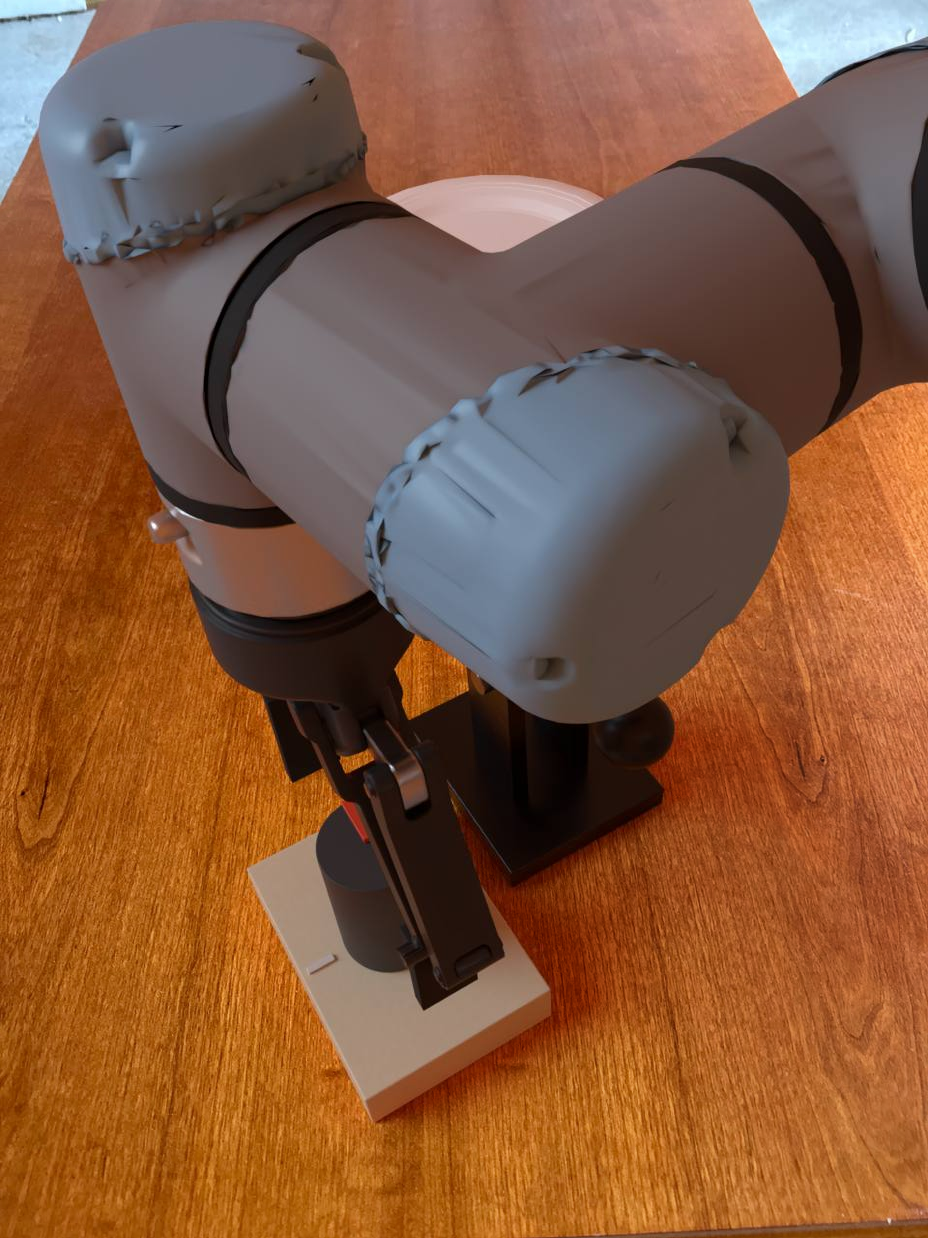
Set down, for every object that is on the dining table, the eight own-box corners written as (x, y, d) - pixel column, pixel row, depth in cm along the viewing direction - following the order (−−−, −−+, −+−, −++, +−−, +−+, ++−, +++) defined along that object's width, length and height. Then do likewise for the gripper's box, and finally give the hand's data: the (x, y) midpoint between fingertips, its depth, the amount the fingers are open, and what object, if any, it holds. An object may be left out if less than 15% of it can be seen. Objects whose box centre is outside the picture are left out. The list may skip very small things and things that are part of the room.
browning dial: (459, 940, 56) (446, 853, 50) (369, 991, 55) (344, 908, 49) (411, 864, 59) (393, 773, 53) (325, 911, 58) (296, 823, 52)
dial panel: (552, 1015, 57) (551, 988, 54) (373, 1124, 54) (364, 1100, 51) (418, 811, 65) (412, 780, 63) (257, 896, 62) (245, 866, 60)
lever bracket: (663, 803, 64) (678, 670, 56) (512, 888, 61) (503, 762, 53) (547, 666, 72) (544, 529, 63) (407, 736, 69) (384, 603, 60)
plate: (585, 169, 114) (585, 151, 113) (694, 327, 95) (696, 307, 93) (298, 223, 111) (295, 205, 109) (350, 397, 91) (347, 378, 90)
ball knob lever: (698, 759, 50) (682, 690, 49) (631, 796, 49) (612, 727, 48) (551, 664, 62) (534, 606, 60) (494, 693, 60) (475, 635, 59)
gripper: (75, 392, 44) (203, 721, 60) (367, 893, 29) (434, 1155, 45) (254, 326, 46) (332, 661, 62) (612, 760, 31) (593, 1055, 47)
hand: (375, 869), depth 53 cm, fingers open, 13 cm apart
